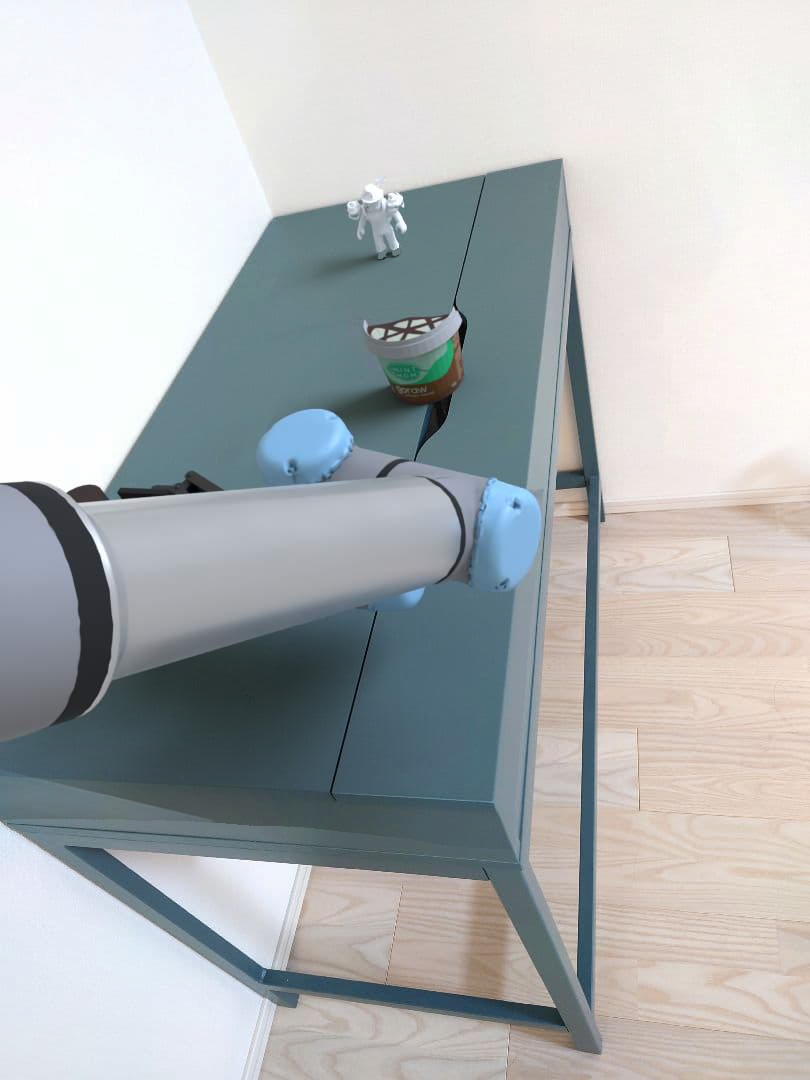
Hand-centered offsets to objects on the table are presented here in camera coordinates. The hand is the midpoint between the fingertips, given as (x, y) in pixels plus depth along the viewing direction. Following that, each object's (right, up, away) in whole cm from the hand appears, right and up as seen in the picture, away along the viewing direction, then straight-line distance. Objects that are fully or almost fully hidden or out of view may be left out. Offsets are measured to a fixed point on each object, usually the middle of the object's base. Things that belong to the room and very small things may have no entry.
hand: (91, 546), depth 83 cm
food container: (+35, +19, +18) cm, 44 cm away
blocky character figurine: (+30, +46, +45) cm, 71 cm away
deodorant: (+4, -6, +6) cm, 9 cm away
